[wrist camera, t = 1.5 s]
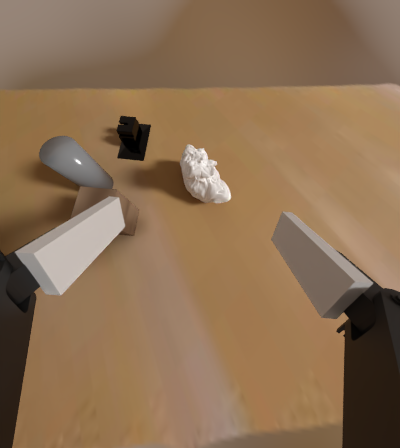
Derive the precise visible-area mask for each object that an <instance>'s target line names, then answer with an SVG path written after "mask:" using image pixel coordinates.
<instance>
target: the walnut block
mask: <svg viewBox="0 0 400 448" xmlns="http://www.w3.org/2000/svg"><path fill="white" fill-rule="evenodd" d="M109 196H111V197H119V200H120V204H121V209H122V214H123V218H124V223H125V227H124V228H123V230H122V231H121V232H120V233H119V235H131V236H134V233H135V228H136V223H137V218H138V213H139V209H138V208H137V207H136V206H135V205H133V204H132V203H131V202H130V201H129V200H128V199H127V198H126V197H125V196H124V195H123V194H121V193H120V192H119V191H118V190H116V189H105V188H93V187H82V186H80V189H79V192H78V196H77V199H76V202H75V205H74V208H73V211H72V214H71V217H70V219H72V218H73V217H75V216H77V215H79V214H80V213H82V212H84V211H85V210H87V209H89V208H90V207H92V206H94V205H96V204H97V203H99V202H101V201H102V200H104V199H106V198H108V197H109Z"/></svg>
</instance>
